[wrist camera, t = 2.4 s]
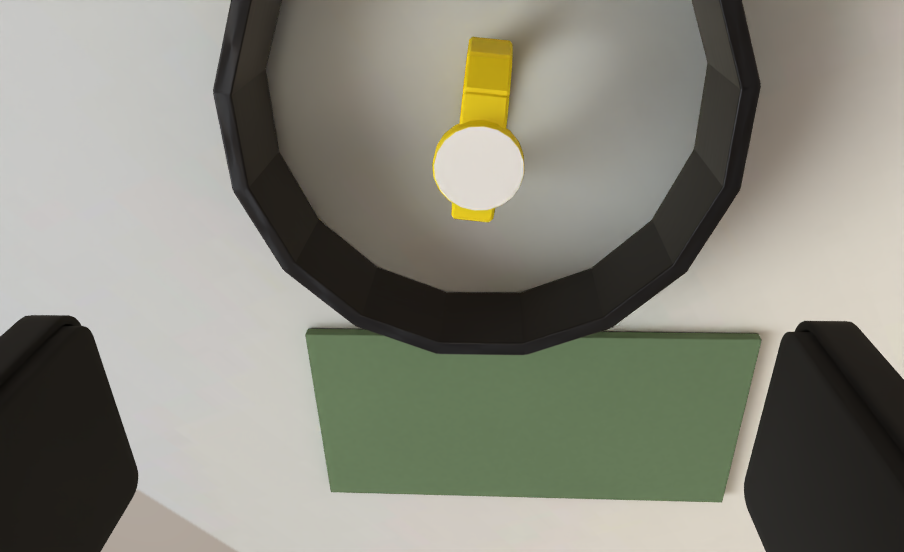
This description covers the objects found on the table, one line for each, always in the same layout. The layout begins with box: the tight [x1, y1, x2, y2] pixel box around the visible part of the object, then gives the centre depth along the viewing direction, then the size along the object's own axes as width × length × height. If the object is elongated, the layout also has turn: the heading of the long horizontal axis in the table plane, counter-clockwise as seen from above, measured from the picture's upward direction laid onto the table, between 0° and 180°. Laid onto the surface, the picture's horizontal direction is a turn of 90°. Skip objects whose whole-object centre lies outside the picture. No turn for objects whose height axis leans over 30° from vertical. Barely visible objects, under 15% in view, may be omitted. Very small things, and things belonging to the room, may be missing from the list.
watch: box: [432, 37, 524, 222], centre depth 23 cm, size 6×3×6 cm, turn 175°
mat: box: [305, 329, 761, 502], centre depth 32 cm, size 20×10×1 cm, turn 91°
